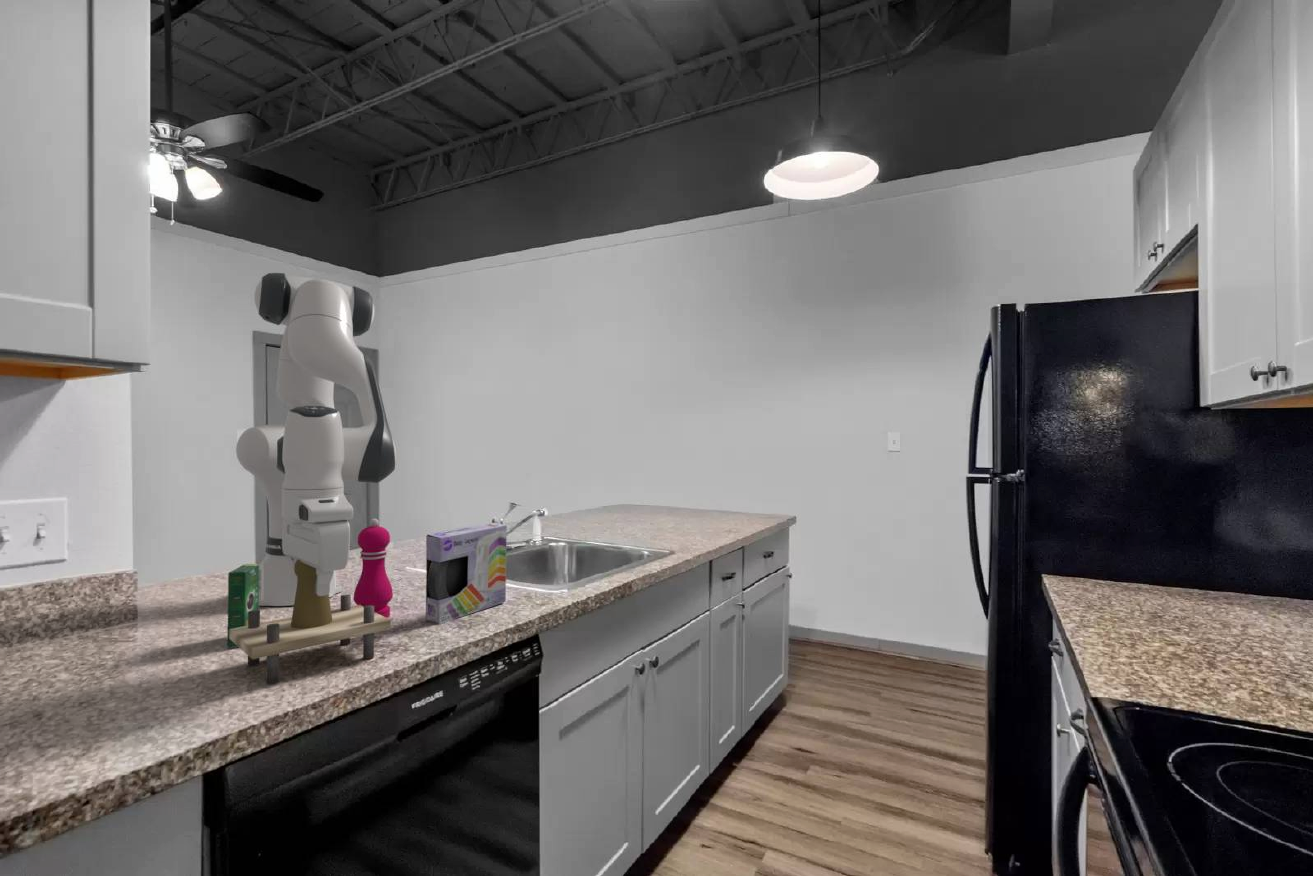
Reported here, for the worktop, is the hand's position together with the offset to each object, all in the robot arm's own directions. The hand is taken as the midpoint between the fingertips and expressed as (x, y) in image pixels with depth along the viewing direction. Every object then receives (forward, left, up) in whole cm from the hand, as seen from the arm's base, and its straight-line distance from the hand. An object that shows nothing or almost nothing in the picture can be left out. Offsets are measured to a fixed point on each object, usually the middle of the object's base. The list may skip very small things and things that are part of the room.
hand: (312, 590), depth 101 cm
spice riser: (0, 0, -12) cm, 12 cm away
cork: (-1, 0, -6) cm, 6 cm away
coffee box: (-19, -5, -12) cm, 23 cm away
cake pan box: (-7, +32, -12) cm, 35 cm away
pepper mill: (-17, +17, -12) cm, 27 cm away
